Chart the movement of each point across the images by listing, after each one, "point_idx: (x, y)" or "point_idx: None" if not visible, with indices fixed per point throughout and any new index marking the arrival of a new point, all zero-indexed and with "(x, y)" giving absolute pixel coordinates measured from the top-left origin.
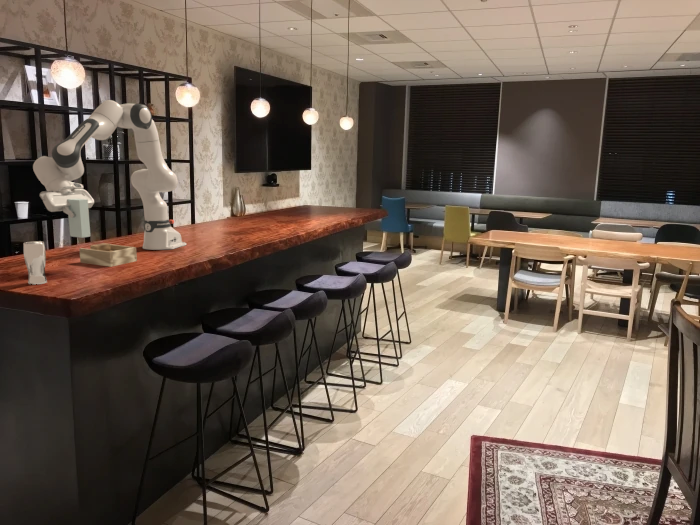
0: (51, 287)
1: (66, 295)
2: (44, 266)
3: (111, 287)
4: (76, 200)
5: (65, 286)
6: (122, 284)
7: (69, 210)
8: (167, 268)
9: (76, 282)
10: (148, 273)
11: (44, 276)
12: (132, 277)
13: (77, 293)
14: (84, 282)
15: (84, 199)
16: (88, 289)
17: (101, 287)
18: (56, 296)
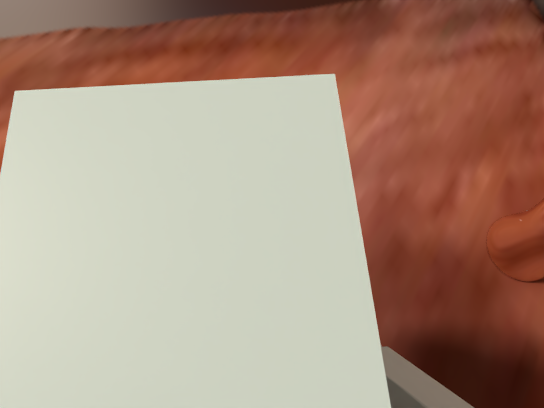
0: (509, 144)
1: (515, 31)
2: (542, 199)
3: (377, 8)
4: (350, 188)
5: (468, 120)
6: (333, 11)
7: (403, 371)
8: (66, 64)
9: (414, 139)
10: (171, 57)
11: (515, 215)
12: (248, 54)
13: (482, 26)
14: (396, 118)
15: (48, 175)
16: (436, 37)
17: (396, 28)
18: (540, 42)
